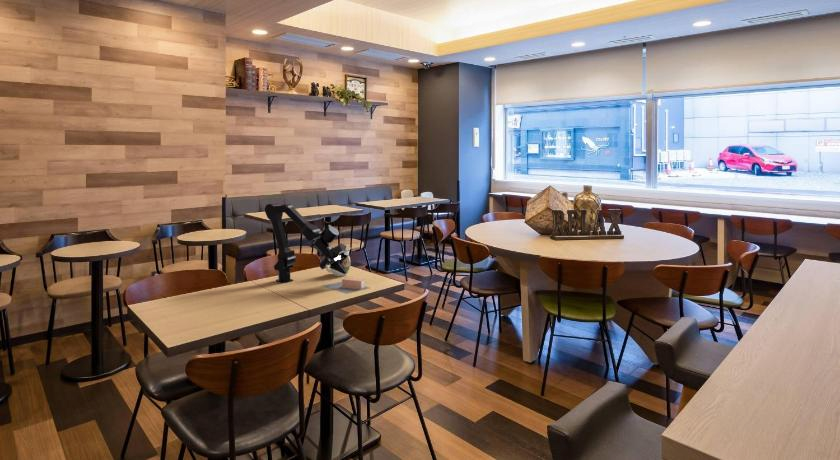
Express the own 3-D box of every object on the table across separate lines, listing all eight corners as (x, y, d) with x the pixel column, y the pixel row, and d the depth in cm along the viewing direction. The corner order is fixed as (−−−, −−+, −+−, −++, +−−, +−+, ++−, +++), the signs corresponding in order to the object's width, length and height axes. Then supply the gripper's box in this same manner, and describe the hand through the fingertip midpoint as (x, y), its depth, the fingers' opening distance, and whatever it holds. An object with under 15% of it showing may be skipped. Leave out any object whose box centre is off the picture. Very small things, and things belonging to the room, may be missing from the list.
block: (342, 279, 240) (360, 281, 236) (346, 277, 243) (365, 279, 239) (342, 287, 240) (361, 289, 236) (346, 285, 244) (365, 287, 240)
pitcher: (318, 277, 262) (317, 251, 260) (344, 271, 276) (343, 246, 274) (333, 280, 256) (332, 253, 254) (358, 273, 270) (357, 248, 268)
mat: (322, 286, 244) (321, 285, 244) (345, 281, 253) (345, 280, 253) (346, 294, 229) (346, 293, 229) (371, 288, 239) (371, 287, 239)
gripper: (324, 241, 232) (345, 266, 229) (345, 235, 249) (365, 259, 246) (310, 256, 236) (331, 282, 233) (332, 249, 253) (351, 273, 250)
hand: (345, 273), depth 241 cm, fingers closed
